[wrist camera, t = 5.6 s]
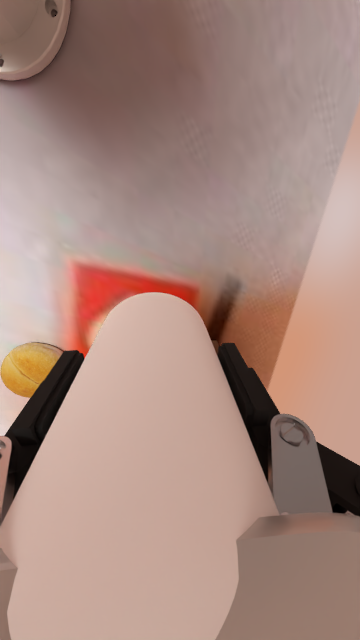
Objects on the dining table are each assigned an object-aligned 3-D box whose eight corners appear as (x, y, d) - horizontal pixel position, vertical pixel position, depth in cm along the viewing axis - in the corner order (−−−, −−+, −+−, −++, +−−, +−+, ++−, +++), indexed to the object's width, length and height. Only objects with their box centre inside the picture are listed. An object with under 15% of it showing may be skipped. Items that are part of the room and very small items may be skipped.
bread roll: (85, 365, 31) (75, 384, 28) (46, 393, 33) (31, 414, 29) (38, 328, 28) (20, 344, 24) (-3, 361, 30) (-25, 381, 26)
